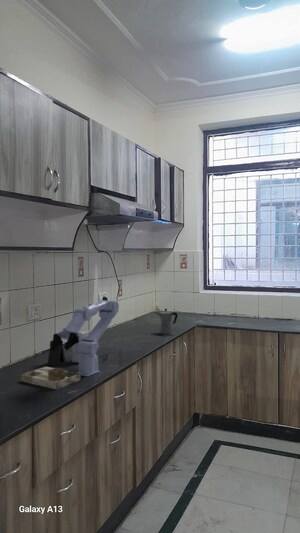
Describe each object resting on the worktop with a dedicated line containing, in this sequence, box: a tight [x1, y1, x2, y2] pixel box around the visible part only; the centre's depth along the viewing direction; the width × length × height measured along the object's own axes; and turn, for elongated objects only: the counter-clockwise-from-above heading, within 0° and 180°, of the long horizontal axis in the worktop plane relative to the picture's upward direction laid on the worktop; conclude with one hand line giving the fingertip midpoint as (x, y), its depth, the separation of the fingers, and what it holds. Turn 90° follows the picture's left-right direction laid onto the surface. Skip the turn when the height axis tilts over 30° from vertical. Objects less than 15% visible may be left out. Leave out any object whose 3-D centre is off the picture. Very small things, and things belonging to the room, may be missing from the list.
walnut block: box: [48, 367, 66, 381], centre depth 176 cm, size 5×5×4 cm
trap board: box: [20, 366, 82, 390], centre depth 183 cm, size 15×22×3 cm, turn 58°
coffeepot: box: [156, 308, 179, 336], centre depth 287 cm, size 15×9×18 cm, turn 70°
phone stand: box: [47, 340, 66, 367], centre depth 212 cm, size 9×6×12 cm, turn 166°
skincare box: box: [71, 330, 90, 364], centre depth 216 cm, size 8×7×16 cm
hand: (58, 349), depth 173 cm, fingers open, 7 cm apart
